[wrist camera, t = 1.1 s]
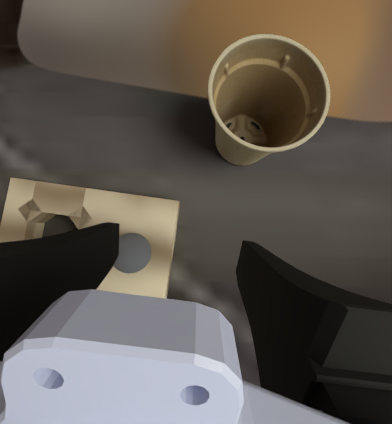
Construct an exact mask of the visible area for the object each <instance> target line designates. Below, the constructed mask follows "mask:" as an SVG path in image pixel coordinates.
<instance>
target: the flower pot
mask: <svg viewBox="0 0 392 424" xmlns="http://www.w3.org/2000/svg"><path fill="white" fill-rule="evenodd" d="M208 100H209V105H210V109H211V112H212V114H213V116H214V119H215V126H216V135H215V142H216V146H217V149H218V151H219V153H220V154H221V156H222V157H223V158H224V159H225V160H227V161H228V162H230V163H232V164H235V165H250V164H253V163H255V162H257V161H258V160H260V159H262V158H263V157H265V156H267V155H269V154H270V153H273V152H282V151H286V150H289V149H292V148H295V147H297V146H299V145H301V144H303V143H304V142H306V141H307V140H308V139H309V138H311V137H312V136H313V135H314V134H315V133H316V132H317V131H318V129H319V128H320V127H321V125H322V124H323V122H324V120H325V118H326V115H327V112H328V109H329V104H330V86H329V82H328V79H327V75H326V73H325V70H324V69H323V67H322V65H321V63H320V62H319V60H318V59H317V58H316V57H315V56H314V55H313V54H312V53H311V52H310V51H309V50H308V49H306V48H305V47H304V46H302V45H301V44H299V43H297V42H296V41H294V40H291V39H289V38H286V37H283V36H278V35H271V34H261V35H260V34H259V35H253V36H248V37H245V38H243V39H240V40H238V41H237V42H235V43H233V44H232V45H230V46H229V47H228V48H227V49H225V50H224V51H223V53H222V54H221V55H220V56H219V58H218V59H217V60H216V62H215V64H214V65H213V68H212V70H211V73H210V77H209V82H208ZM252 122H253V123H255V124H257V125H258V126H259V130H258V129H257V128H256V127H255V126H254V125H253V124H251V123H252ZM229 123H231V125H230V126H229V128H227V127H226V125H227V124H229ZM241 137H243V138H244V140H242V139H241Z"/></svg>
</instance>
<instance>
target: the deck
mask: <svg viewBox="0 0 392 424" xmlns="http://www.w3.org/2000/svg"><path fill="white" fill-rule="evenodd" d="M179 208H180V202H179V201H175V200H168V199H161V198H154V197H147V196H139V195H132V194H125V193H118V192H111V191H104V190H97V189H90V188H82V187H75V186H68V185H61V184H54V183H47V182H40V181H32V180H25V179H18V178H11V179H10V184H9V188H8V193H7V197H6V202H5V207H4V211H3V216H2V220H1V225H0V242H11V241H20V240H29V239H36V238H42V235H43V230H44V225H45V223H46V222H47V221H49V220H50V219H51V218H53V217H54V216H56V215H57V214H60V215H67V216H69V217H70V219H71V220H72V221H73V223H74V224H75V225H76V227H77V228H78V229H82V228H86V227H89V226H93V225H97V224H101V223H106V222H111V223H118V224H120V225H119V236H121V235H123V234H126V233H138V234H140V235H142V236H144V237H145V238H146V239H147V240H148V242H149V243H150V246H151V258H150V261H149V262H148V264H147V265H146V266H145V267H144V268H143V269H142V270H140V271H138V272H136V273H123V272H121V271H119V270H117V269H116V268H115V267H114V266H113V267H112V269H111V270H110V272H109V273H108V274H107V276H106V277H105V278H104V280H103V281H102V282H101V284H100V285H99V286H98V288H97V289H96V290H102V291H110V292H118V293H125V294H133V295H141V296H149V297H157V298H165V299H166V298H167V291H168V284H169V278H170V271H171V264H172V257H173V250H174V243H175V236H176V229H177V222H178V215H179Z"/></svg>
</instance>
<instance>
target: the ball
mask: <svg viewBox="0 0 392 424" xmlns="http://www.w3.org/2000/svg"><path fill="white" fill-rule="evenodd" d="M150 258H151V246H150V243H149V242H148V240H147V239H146V238H145V237H144V236H142V235H140V234H138V233H126V234H123V235H121V236H119V256H118V258H117V260H116V261H115V263H114V265H113V266H114V267H115V268H116V269H117V270H119V271H121V272H123V273H136V272H138V271H140V270H142V269H143V268H144V267H145V266H146V265H147V264H148V262H149V261H150Z"/></svg>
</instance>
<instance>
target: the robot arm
mask: <svg viewBox="0 0 392 424" xmlns="http://www.w3.org/2000/svg"><path fill="white" fill-rule="evenodd" d="M119 225H120V224H118V223H111V222H106V223H101V224H97V225H93V226H89V227H86V228H82V229H78V230H74V231H70V232H66V233H62V234H58V235H53V236H48V237H42V238H36V239H29V240H20V241H11V242H0V424H392V304H389V303H385V302H382V301H378V300H375V299H371V298H367V297H364V296H361V295H358V294H355V293H352V292H349V291H346V290H344V289H341V288H338V287H336V286H333V285H331V284H328V283H326V282H323V281H321V280H319V279H317V278H314V277H312V276H310V275H308V274H306V273H304V272H302V271H300V270H298V269H297V268H295V267H293V266H291V265H290V264H288V263H286V262H285V261H283V260H281V259H280V258H278V257H277V256H275V255H274V254H272V253H271V252H269V251H268V250H266V249H265V248H263V247H262V246H260V245H259V244H257V243H255V242H251V241H243V242H242V247H241V251H240V255H239V260H238V264H237V268H236V275H237V282H238V287H239V290H240V294H241V297H242V300H243V303H244V307H245V310H246V313H247V316H248V320H249V323H250V327H251V332H252V337H253V342H254V347H255V353H256V358H257V364H258V370H259V377H260V383H261V387H259V386H257V385H254V384H252V383H249V382H247V381H244V380H242V377H241V371H240V366H239V361H238V355H237V350H236V344H235V339H234V333H233V328H232V325H231V324H230V323H229V322H228V321H227V320H226V318H225V317H224V316H223V315H222V314H221V313H220V312H219V311H218V310H216V309H213V308H210V307H207V306H205V305H202V304H199V303H196V302H188V301H180V300H172V299H165V298H157V297H149V296H141V295H133V294H125V293H118V292H110V291H102V290H96V289H97V288H98V286H99V285H100V284H101V282H102V281H103V280H104V278H105V277H106V276H107V274H108V273H109V272H110V270H111V269H112V267H113V265H114V263H115V261H116V260H117V258H118V256H119Z"/></svg>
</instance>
